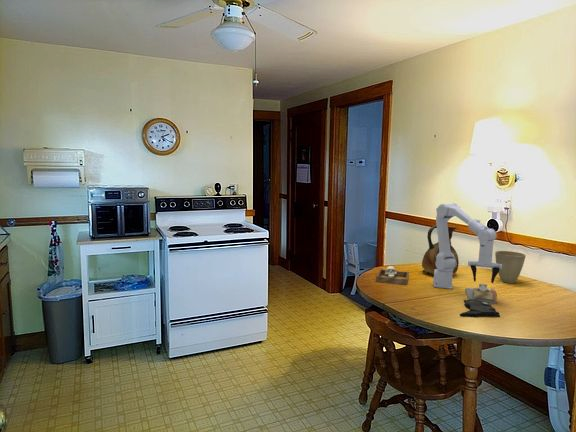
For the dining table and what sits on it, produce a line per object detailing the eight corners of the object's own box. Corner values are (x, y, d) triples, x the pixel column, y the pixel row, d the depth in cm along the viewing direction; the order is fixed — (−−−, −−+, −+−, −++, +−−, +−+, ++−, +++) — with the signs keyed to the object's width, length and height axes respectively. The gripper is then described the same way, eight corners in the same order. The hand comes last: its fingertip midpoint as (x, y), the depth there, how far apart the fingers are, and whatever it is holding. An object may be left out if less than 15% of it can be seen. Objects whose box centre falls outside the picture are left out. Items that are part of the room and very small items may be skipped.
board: (468, 300, 191) (469, 291, 190) (465, 289, 208) (465, 281, 207) (496, 303, 187) (497, 294, 186) (490, 292, 204) (491, 283, 203)
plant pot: (528, 282, 222) (530, 254, 220) (514, 286, 214) (517, 257, 212) (501, 276, 234) (503, 249, 232) (487, 279, 226) (489, 252, 224)
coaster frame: (376, 281, 219) (376, 276, 219) (379, 274, 235) (379, 269, 234) (407, 285, 214) (407, 279, 214) (408, 277, 229) (408, 272, 229)
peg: (479, 297, 192) (480, 285, 191) (477, 295, 195) (478, 283, 194) (487, 298, 191) (488, 286, 190) (485, 295, 194) (485, 283, 194)
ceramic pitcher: (463, 278, 228) (466, 226, 224) (427, 278, 228) (430, 226, 224) (449, 269, 247) (453, 221, 243) (417, 269, 248) (419, 221, 244)
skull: (403, 282, 216) (391, 267, 216) (388, 293, 219) (376, 278, 220) (403, 275, 227) (391, 261, 228) (389, 286, 230) (377, 272, 231)
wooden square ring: (474, 297, 191) (474, 291, 190) (472, 292, 198) (472, 287, 198) (492, 299, 188) (493, 293, 188) (490, 294, 196) (490, 288, 195)
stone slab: (452, 304, 192) (453, 294, 192) (490, 309, 188) (491, 298, 187) (459, 317, 170) (460, 306, 170) (502, 323, 166) (503, 311, 166)
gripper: (469, 254, 189) (467, 282, 191) (504, 257, 184) (501, 285, 186) (468, 251, 196) (466, 278, 197) (501, 254, 191) (499, 281, 193)
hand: (483, 281), depth 192 cm, fingers open, 7 cm apart
